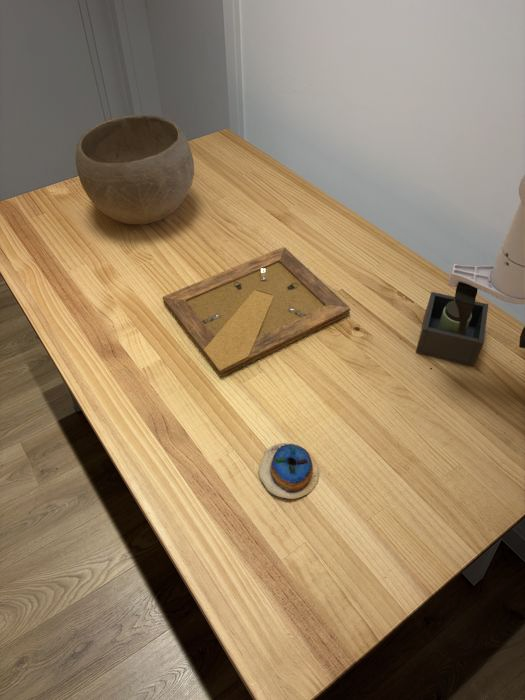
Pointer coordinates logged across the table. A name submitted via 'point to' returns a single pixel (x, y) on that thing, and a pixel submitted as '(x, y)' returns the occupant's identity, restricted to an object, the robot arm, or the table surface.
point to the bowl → (135, 167)
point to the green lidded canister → (451, 319)
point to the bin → (449, 343)
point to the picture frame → (254, 309)
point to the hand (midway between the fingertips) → (491, 335)
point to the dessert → (288, 471)
